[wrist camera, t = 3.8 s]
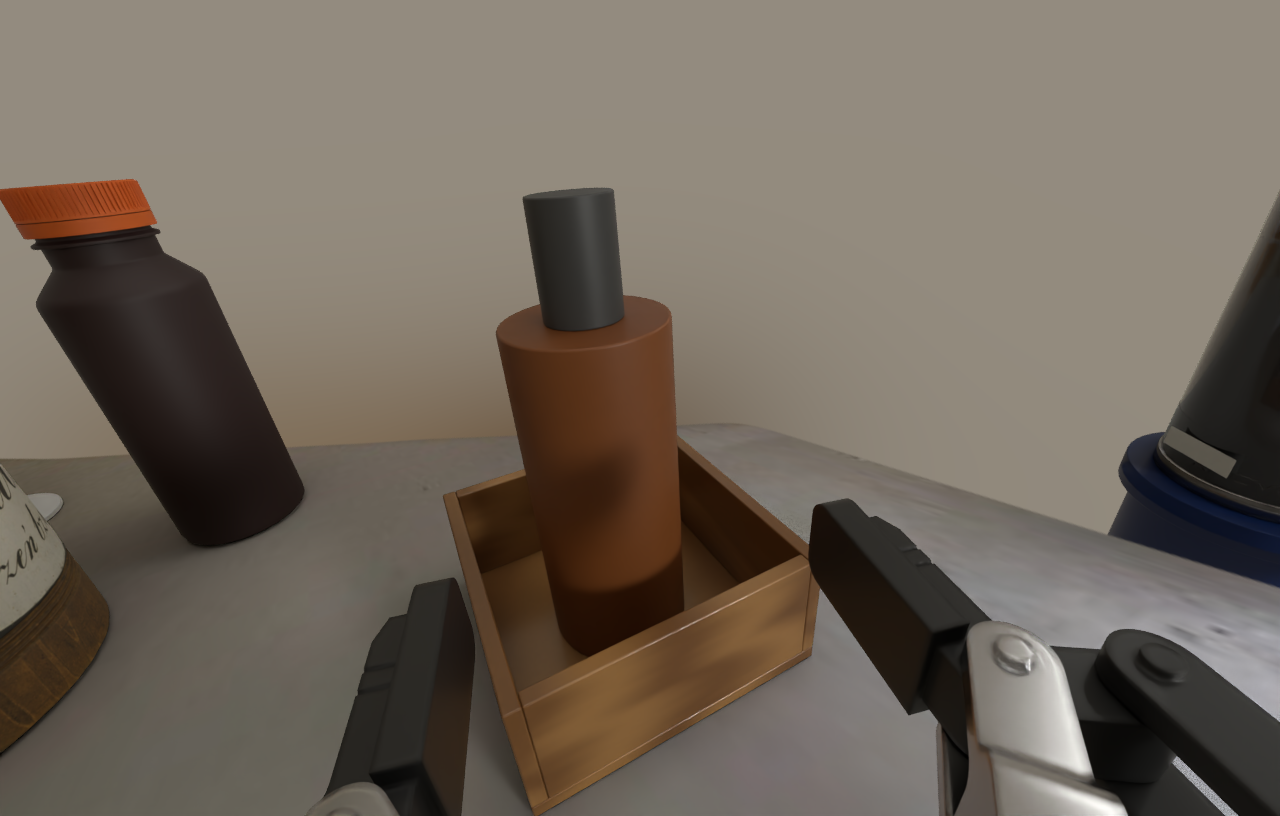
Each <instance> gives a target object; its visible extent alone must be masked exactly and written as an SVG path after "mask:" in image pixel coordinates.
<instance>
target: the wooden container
mask: <svg viewBox="0 0 1280 816" xmlns="http://www.w3.org/2000/svg"><path fill="white" fill-rule="evenodd" d="M108 626H109V609H108V605H107V603H106V601H105V599H104V598H103V596H102V595H101V594H100V592H99V591H98V589H97V588H96V587H95V585H94V584H93V583H92V581H91V580H90V579H89V577H88V576H87V575H86V573H85V572H84V571H83V570H82V568H81V567H80V566H79V564H78V563H77V562H76V561H75V560H74V558H73V557H72V556H71V554H70V553H69V552H68V550H67V549H66V548H65V546H64V544H63V542H62V541H61V539H60V538H59V537H58V535H57V534H56V533H55V531H54V530H53V529H52V527H51V526H50V525H49V524H48V522H47V521H46V520H45V518H44V517H43V516H42V515H41V513H40V512H39V511H38V509H37V508H36V507H35V506H34V504H33V503H32V502H31V501H30V499H29V498H28V497H27V496H26V494H25V493H24V492H23V491H22V490H21V488H20V487H19V486H18V485H17V483H16V482H15V481H14V480H13V478H12V477H11V476H10V475H9V473H8V472H7V471H6V470H5V468H4V467H3V466H2V465H1V464H0V753H1V752H2V751H4V750H5V749H6V748H7V747H8V746H10V745H11V744H12V743H13V742H15V741H16V740H17V739H18V738H19V737H20V736H21V735H23V734H24V733H25V732H26V731H27V730H28V729H29V728H30V727H32V726H33V725H34V724H35V723H36V722H37V721H38V720H39V719H40V718H41V717H42V716H43V715H44V714H45V713H46V712H47V711H49V710H50V709H51V708H52V707H53V706H54V705H55V704H56V703H57V702H58V701H59V700H60V699H61V697H62V696H63V695H64V694H65V693H66V692H67V691H68V690H69V689H70V688H71V687H72V686H73V684H74V683H75V682H76V681H77V680H78V679H79V677H80V676H81V675H82V673H83V672H84V670H85V669H86V668H87V667H88V665H89V664H90V663H91V661H92V660H93V658H94V656H95V655H96V653H97V651H98V649H99V648H100V646H101V644H102V642H103V640H104V638H105V636H106V634H107V630H108Z"/></svg>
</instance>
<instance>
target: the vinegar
mask: <svg viewBox="0 0 1280 816" xmlns="http://www.w3.org/2000/svg"><path fill="white" fill-rule="evenodd" d="M0 200H1V201H2V203H3V205H4V207H5V208H6V210H7V211H8V213H9V215H10V216H11V218H12V220H13V222H14V223H15V224H16V227H17V228H18V230H19V232H20V233H21V235H22V237H23V238H24V239H35V240H36V243H35V244H33V245H32V246H31V248H32V249H34V250H42V252H43V254H44V255H45V257H46V259H47V260H48V262H49V264H50V265H51V267H52V272H51V274H50V276H49V278H48V280H47V282H46V284H45V285H44V287H43V289H42V291H41V293H40V295H39V297H38V299H37V301H36V307H37V309H38V311H39V313H40V315H41V316H42V318H43V319H44V321H45V322H46V324H47V325H48V327H49V329H50V330H51V332H52V333H53V335H54V336H55V338H56V340H57V341H58V343H59V344H60V346H61V347H62V349H63V350H64V352H65V354H66V355H67V357H68V358H69V360H70V361H71V363H72V365H73V366H74V368H75V369H76V371H77V372H78V374H79V375H80V377H81V378H82V380H83V382H84V383H85V385H86V386H87V388H88V390H89V391H90V393H91V394H92V396H93V397H94V399H95V400H96V402H97V403H98V405H99V407H100V408H101V410H102V411H103V413H104V415H105V416H106V418H107V419H108V421H109V422H110V424H111V425H112V427H113V429H114V430H115V432H116V433H117V435H118V436H119V438H120V439H121V441H122V443H123V444H124V446H125V447H126V448H127V450H128V452H129V454H130V455H131V457H132V458H133V460H134V461H135V463H136V465H137V466H138V468H139V469H140V471H141V472H142V474H143V475H144V477H145V479H146V480H147V482H148V483H149V485H150V486H151V488H152V489H153V491H154V493H155V494H156V496H157V497H158V499H159V500H160V502H161V504H162V505H163V507H164V508H165V510H166V511H167V513H168V514H169V516H170V518H171V519H172V521H173V522H174V524H175V525H176V527H177V529H178V530H179V532H180V533H181V535H182V536H183V537H185V538H186V539H187V540H188V541H189V542H191V543H195V544H200V545H216V544H225V543H229V542H233V541H237V540H241V539H244V538H246V537H249V536H251V535H254V534H256V533H259V532H261V531H263V530H265V529H267V528H269V527H270V526H272V525H274V524H276V523H278V522H279V521H280V520H282V519H283V518H284V517H286V516H287V515H288V514H290V513H291V512H292V511H293V510H294V509H295V507H296V506H297V505H298V504H299V503H300V501H301V500H302V497H303V494H304V486H303V484H302V481H301V479H300V477H299V475H298V473H297V470H296V468H295V466H294V464H293V462H292V460H291V458H290V455H289V453H288V451H287V449H286V447H285V445H284V443H283V440H282V438H281V436H280V434H279V432H278V430H277V428H276V426H275V423H274V421H273V419H272V417H271V415H270V413H269V411H268V408H267V406H266V404H265V402H264V400H263V398H262V396H261V394H260V392H259V389H258V387H257V385H256V383H255V381H254V378H253V376H252V374H251V372H250V370H249V368H248V366H247V363H246V361H245V359H244V357H243V355H242V353H241V351H240V349H239V346H238V345H237V342H236V340H235V338H234V336H233V334H232V332H231V329H230V327H229V326H228V323H227V321H226V319H225V317H224V315H223V312H222V310H221V308H220V306H219V304H218V301H217V300H216V297H215V295H214V293H213V291H212V289H211V286H210V284H209V282H208V280H207V278H206V277H205V276H204V275H203V274H202V273H201V272H200V271H198V270H196V269H194V268H193V267H191V266H189V265H187V264H185V263H183V262H181V261H179V260H177V259H175V258H173V257H171V256H169V255H167V254H166V253H164V252H163V250H162V248H161V246H160V244H159V242H158V240H157V238H156V236H155V235H156V234H159V233H160V230H159V229H154V228H152V227H151V226H150V225H152V224H156V223H157V221H156V219H155V217H154V215H153V213H152V211H151V210H150V206H149V204H148V202H147V200H146V198H145V196H144V194H143V192H142V190H141V188H140V186H139V184H138V182H137V181H135V180H134V179H126V180H111V181H98V182H86V183H72V184H59V185H48V186H47V185H46V186H34V187H22V188H9V189H0Z"/></svg>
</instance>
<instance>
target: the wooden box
mask: <svg viewBox="0 0 1280 816" xmlns="http://www.w3.org/2000/svg"><path fill="white" fill-rule="evenodd" d="M677 449H678V471H679V494H680V516H681V539H682V561H683V584H684V611H683V612H681V613H679V614H677V615H675V616H673V617H671V618H669V619H667V620H665V621H663V622H660V623H658V624H656V625H654V626H652V627H650V628H648V629H646V630H644V631H642V632H640V633H638V634H636V635H634V636H632V637H630V638H628V639H625V640H623V641H621V642H619V643H617V644H615V645H613V646H611V647H609V648H607V649H605V650H603V651H601V652H599V653H597V654H595V655H592V656H590V657H588V656H586V655H584V654H582V653H580V652H579V651H577V650H576V649H574V648H573V647H572V646H571V645H570V644H569V643H568V642H567V641H566V640H565V638H564V637H563V635H562V633H561V632H560V629H559V626H558V623H557V618H556V614H555V609H554V604H553V600H552V595H551V590H550V585H549V581H548V576H547V571H546V567H545V562H544V557H543V553H542V548H541V543H540V539H539V534H538V529H537V525H536V520H535V515H534V511H533V506H532V501H531V497H530V492H529V487H528V483H527V478H526V473H525V469H523V470H520V471H517V472H514V473H511V474H508V475H504V476H501V477H498V478H495V479H492V480H489V481H486V482H483V483H479V484H476V485H473V486H470V487H467V488H464V489H461V490H458V491H456V492H451V493H448V494H445V495H443V499H444V503H445V507H446V510H447V514H448V518H449V522H450V526H451V529H452V533H453V537H454V541H455V544H456V548H457V552H458V556H459V560H460V563H461V567H462V571H463V575H464V578H465V582H466V586H467V590H468V593H469V597H470V601H471V605H472V609H473V612H474V616H475V620H476V624H477V627H478V631H479V635H480V639H481V643H482V646H483V650H484V654H485V658H486V661H487V665H488V669H489V673H490V676H491V680H492V684H493V688H494V692H495V695H496V699H497V703H498V707H499V710H500V714H501V718H502V721H503V724H504V727H505V730H506V733H507V736H508V739H509V742H510V745H511V748H512V751H513V754H514V757H515V760H516V763H517V767H518V770H519V773H520V776H521V779H522V782H523V785H524V788H525V791H526V794H527V797H528V800H529V803H530V806H531V809H532V812H533V815H534V816H538V815H540V814H542V813H543V812H545V811H547V810H548V809H550V808H552V807H554V806H555V805H557V804H559V803H560V802H562V801H564V800H565V799H567V798H569V797H571V796H572V795H574V794H576V793H577V792H579V791H581V790H583V789H584V788H586V787H588V786H589V785H591V784H593V783H594V782H596V781H598V780H600V779H601V778H603V777H605V776H606V775H608V774H610V773H611V772H613V771H615V770H617V769H618V768H620V767H622V766H623V765H625V764H627V763H629V762H630V761H632V760H634V759H635V758H637V757H639V756H640V755H642V754H644V753H646V752H647V751H649V750H651V749H652V748H654V747H656V746H657V745H659V744H661V743H663V742H664V741H666V740H668V739H669V738H671V737H673V736H675V735H676V734H678V733H680V732H681V731H683V730H685V729H686V728H688V727H690V726H692V725H693V724H695V723H697V722H698V721H700V720H702V719H703V718H705V717H707V716H709V715H710V714H712V713H714V712H715V711H717V710H719V709H720V708H722V707H724V706H726V705H727V704H729V703H731V702H732V701H734V700H736V699H738V698H739V697H741V696H743V695H744V694H746V693H748V692H749V691H751V690H753V689H755V688H756V687H758V686H760V685H761V684H763V683H765V682H766V681H768V680H770V679H772V678H773V677H775V676H777V675H778V674H780V673H782V672H784V671H785V670H787V669H789V668H790V667H792V666H794V665H795V664H797V663H799V662H801V661H802V660H804V659H806V658H807V657H809V656H811V653H812V645H813V638H814V630H815V622H816V614H817V606H818V599H819V591H820V586H819V585H818V584H817V582H816V580H815V579H814V577H813V574H812V572H811V569H810V565H809V559H808V551H809V545H808V544H807V543H806V542H805V541H803V540H802V539H801V538H800V537H799V536H797V535H796V534H795V533H794V532H793V531H791V530H790V529H789V528H788V527H787V526H785V525H784V524H783V523H782V522H781V521H779V520H778V519H777V518H776V517H775V516H773V515H772V514H771V513H770V512H769V511H767V510H766V509H765V508H764V507H763V506H762V505H760V504H759V503H758V502H757V501H756V500H754V499H753V498H752V497H751V496H750V495H748V494H747V493H746V492H745V491H744V490H742V489H741V488H740V487H739V486H738V485H736V484H735V483H734V482H733V481H732V480H730V479H729V478H728V477H727V476H726V475H724V474H723V473H722V472H721V471H720V470H718V469H717V468H716V467H715V466H714V465H712V464H711V463H710V462H709V461H708V460H706V459H705V458H704V457H703V456H702V455H700V454H699V453H698V452H697V451H696V450H695V449H693V448H692V447H691V446H690V445H689V444H687V443H686V442H685V441H684V440H683V439H681V438H680V437H679V436H678V435H677Z"/></svg>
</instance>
